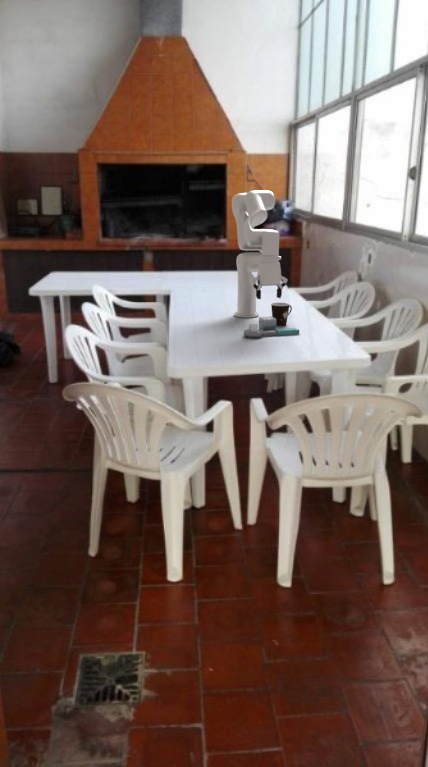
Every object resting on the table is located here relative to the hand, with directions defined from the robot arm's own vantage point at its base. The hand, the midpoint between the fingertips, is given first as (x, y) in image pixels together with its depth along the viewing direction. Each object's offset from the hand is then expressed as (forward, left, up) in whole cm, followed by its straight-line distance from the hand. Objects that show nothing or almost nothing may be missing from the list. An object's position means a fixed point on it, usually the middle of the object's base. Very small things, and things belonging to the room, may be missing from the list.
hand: (268, 298), depth 263 cm
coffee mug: (-10, +12, -15) cm, 22 cm away
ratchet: (+8, -1, -15) cm, 17 cm away
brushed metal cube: (0, 0, -15) cm, 15 cm away
